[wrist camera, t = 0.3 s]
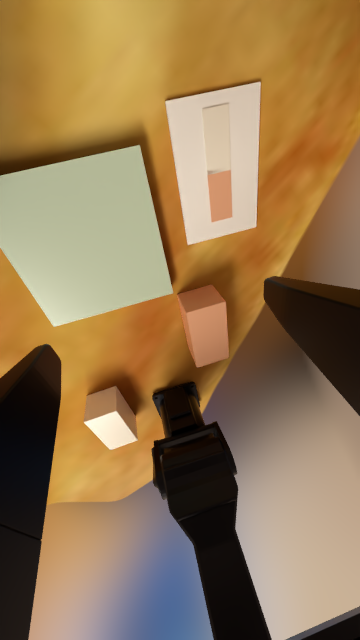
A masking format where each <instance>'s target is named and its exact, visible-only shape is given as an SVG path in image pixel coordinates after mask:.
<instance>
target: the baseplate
mask: <svg viewBox="0 0 360 640" xmlns="http://www.w3.org/2000/svg"><path fill="white" fill-rule="evenodd" d="M0 248H1V249H2V251H3V252H4V254H5V255H6V257H7V258H8V260H9V261H10V263H11V264H12V265H13V267H14V268H15V270H16V271H17V273H18V274H19V276H20V277H21V279H22V280H23V282H24V283H25V285H26V286H27V288H28V289H29V291H30V292H31V294H32V295H33V297H34V298H35V300H36V301H37V302H38V304H39V305H40V307H41V308H42V310H43V311H44V313H45V314H46V316H47V317H48V319H49V320H50V322H51V323H52V325H53V326H54V327H56V326H59V325H63V324H66V323H70V322H73V321H77V320H80V319H84V318H87V317H91V316H94V315H98V314H101V313H105V312H108V311H112V310H115V309H119V308H122V307H126V306H129V305H133V304H136V303H140V302H144V301H147V300H151V299H154V298H158V297H161V296H165V295H168V294H172V293H173V290H172V285H171V281H170V277H169V272H168V268H167V263H166V259H165V254H164V250H163V246H162V241H161V237H160V232H159V228H158V224H157V219H156V215H155V210H154V206H153V202H152V197H151V193H150V188H149V184H148V179H147V175H146V171H145V166H144V162H143V157H142V153H141V149H140V145H137V146H132V147H128V148H123V149H119V150H114V151H109V152H105V153H100V154H96V155H91V156H87V157H82V158H78V159H73V160H69V161H64V162H60V163H55V164H50V165H46V166H41V167H37V168H32V169H28V170H23V171H19V172H14V173H10V174H5V175H1V176H0Z"/></svg>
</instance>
